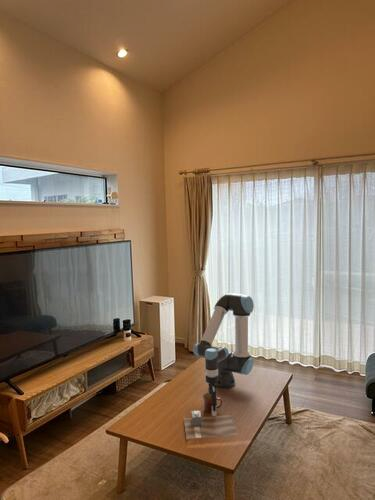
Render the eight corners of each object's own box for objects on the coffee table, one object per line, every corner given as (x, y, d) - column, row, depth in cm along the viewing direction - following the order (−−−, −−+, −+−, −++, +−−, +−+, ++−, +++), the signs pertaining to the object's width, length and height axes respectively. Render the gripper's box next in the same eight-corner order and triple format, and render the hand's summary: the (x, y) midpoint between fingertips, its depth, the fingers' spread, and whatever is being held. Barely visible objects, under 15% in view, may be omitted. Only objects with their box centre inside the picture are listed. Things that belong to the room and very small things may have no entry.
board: (183, 417, 218) (183, 415, 218) (230, 414, 220) (230, 412, 220) (186, 441, 196) (186, 438, 195) (238, 436, 198) (238, 434, 198)
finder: (191, 419, 214) (191, 410, 214) (200, 418, 215) (199, 409, 214) (192, 426, 207) (192, 416, 207) (201, 425, 208) (201, 416, 207)
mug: (201, 414, 221) (200, 398, 220) (205, 407, 229) (204, 391, 228) (220, 417, 217) (220, 401, 216) (224, 410, 225) (223, 394, 224)
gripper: (203, 368, 232) (204, 403, 233) (208, 383, 210) (209, 421, 211) (215, 367, 233) (215, 402, 234) (221, 382, 210) (222, 420, 211)
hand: (212, 411), depth 222 cm, fingers open, 10 cm apart
